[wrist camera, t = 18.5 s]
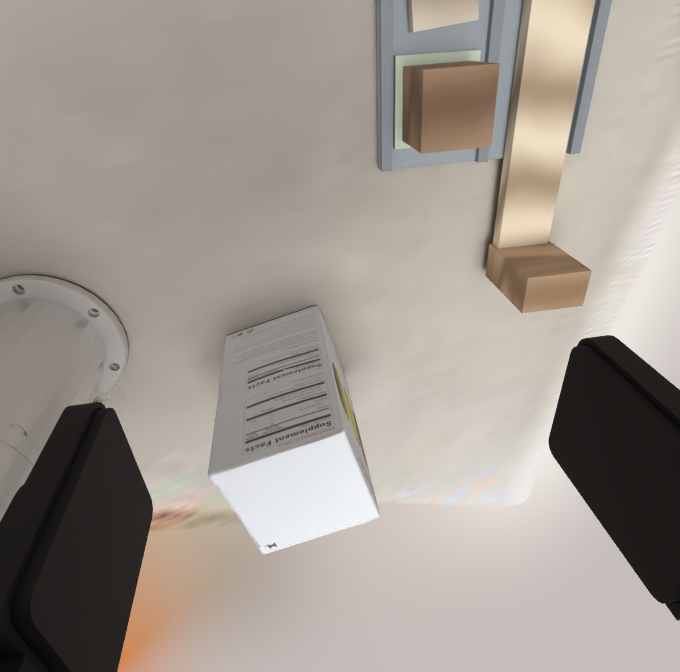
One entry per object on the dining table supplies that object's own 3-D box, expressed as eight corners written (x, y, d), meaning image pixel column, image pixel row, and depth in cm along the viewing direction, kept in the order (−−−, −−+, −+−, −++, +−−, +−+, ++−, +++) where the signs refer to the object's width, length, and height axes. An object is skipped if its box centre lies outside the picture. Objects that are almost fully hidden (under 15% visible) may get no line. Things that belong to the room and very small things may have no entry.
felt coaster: (469, 141, 36) (472, 142, 36) (393, 147, 36) (394, 149, 35) (477, 49, 33) (480, 50, 32) (393, 55, 32) (395, 55, 32)
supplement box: (347, 379, 48) (384, 521, 34) (262, 408, 48) (263, 560, 34) (317, 301, 42) (346, 430, 28) (222, 334, 43) (203, 478, 29)
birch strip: (538, 269, 43) (582, 305, 37) (485, 275, 42) (521, 313, 36) (607, -99, 29) (694, -135, 23) (531, -96, 29) (600, -131, 23)
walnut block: (464, 134, 35) (491, 146, 31) (402, 140, 35) (420, 153, 31) (470, 60, 33) (499, 63, 29) (402, 66, 32) (423, 69, 28)
